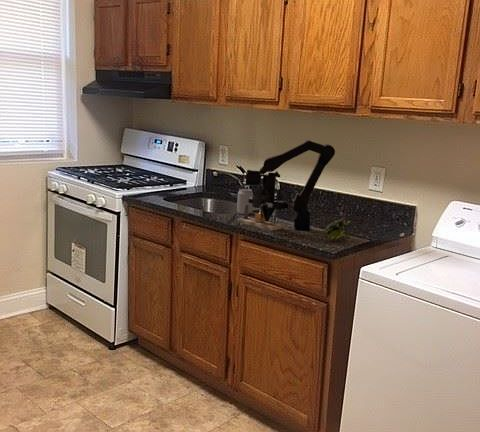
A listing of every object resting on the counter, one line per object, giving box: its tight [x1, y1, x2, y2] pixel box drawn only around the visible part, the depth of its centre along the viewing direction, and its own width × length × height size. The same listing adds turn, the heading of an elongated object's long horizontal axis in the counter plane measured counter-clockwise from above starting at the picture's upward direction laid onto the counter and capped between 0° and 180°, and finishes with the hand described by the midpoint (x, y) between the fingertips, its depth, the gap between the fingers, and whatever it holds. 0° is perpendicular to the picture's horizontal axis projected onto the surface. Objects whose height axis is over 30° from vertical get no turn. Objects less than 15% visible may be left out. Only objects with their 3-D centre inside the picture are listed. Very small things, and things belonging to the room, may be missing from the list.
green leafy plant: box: [324, 216, 352, 242], centre depth 223 cm, size 11×11×12 cm
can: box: [236, 188, 254, 215], centre depth 267 cm, size 8×8×12 cm
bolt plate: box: [236, 204, 283, 232], centre depth 243 cm, size 21×7×8 cm, turn 46°
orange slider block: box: [254, 207, 266, 222], centre depth 243 cm, size 4×4×6 cm
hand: (266, 221), depth 240 cm, fingers closed
